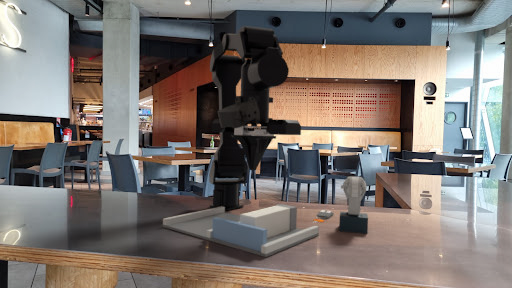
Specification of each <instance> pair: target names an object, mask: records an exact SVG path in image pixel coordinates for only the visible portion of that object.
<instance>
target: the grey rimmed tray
mask: <svg viewBox="0 0 512 288" xmlns="http://www.w3.org/2000/svg"><path fill="white" fill-rule="evenodd" d="M162 228H165V229H169V230H172V231H175V232H179V233H182V234H186V235H189V236H193V237H196V238H199V239H203V240H206V241H210V242H213V243H217V244H219V245H224V246H227V247H230V248H233V249H237V250H240V251H244V252H247V253H250V254H254V255H256V256H257V255H258V256H261V257H264V258H268V257H270V256H272V255H275V254H277V253H280V252H282V251H285V250H287V249H290V248H291V247H294V246H297V245H299V244H302V243H304V242H306V241H309V240H311V239H313V238H315V237H318V236H320V235H319V234H320V226H318V225H313V226H310V227H307V228H305V229H303V228H298V227H296V229H294V230H291V231H290V230H289V231H286V232H283V233H281V234H278V235H275V236H272V237H269V238H267V229H264V228H260V227H256V226H251V225H247V224H243V223H240V214H234V213H231V212H230V213H229V212H227V211H226V210H225V207H222V206H221V207H217V208H213V207H211V208H208V209H202V210H198V211H193V212H189V213H183V214H179V215H174V216H169V217H164V218H163V219H162ZM308 239H309V240H308Z"/></svg>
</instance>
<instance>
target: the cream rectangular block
mask: <svg viewBox="0 0 512 288" xmlns="http://www.w3.org/2000/svg"><path fill="white" fill-rule="evenodd" d="M297 209H298V207H297V206H293V205H288V204H283V203H277V204H275V205H274V206H269V207H266V208H265V207H264V208H261V209H256V210H253V211H248V212H245V213H240V214H239V215H240V223H243V224H247V225H251V226H256V227H260V228H264V229H267V238H269V237H272V236H275V235H278V234H281V233H283V232H286V231H289V230H290V231H291V230H294V229H296V228H297V221H298V220H297V216H298V215H297V214H298V213H297V212H298V211H297Z"/></svg>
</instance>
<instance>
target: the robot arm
mask: <svg viewBox="0 0 512 288" xmlns="http://www.w3.org/2000/svg"><path fill="white" fill-rule="evenodd" d="M226 51H231V52H236V53H237V54H238V55H229V54H226ZM283 54H284V52H283V49H282V48H281V46H280V43H279V40H278V37H277V34H276V35H275V31H274V29H272V28H265V27H258V26H257V27H255V26H249V25H248V26H247V25H243V26H241V27H240V28H239V29H238V30H237V33H231V32H230V33H228V32H227V33H225V34H223V37H222V41H221V42H219V43H218V45H217V46H215V47H214V48H213V50H212V53H211V57H210V61H209V72H211V78H212V79H211V80H212V82H213V83H214V85H215V87H216V88H217V90H218V111H217V115H218V118H215V119H214V120H213V121H212V122H211V133H219V145H218V147H217V149H216V151H215V153H214V154H213V159H212V161H211V164H210V169H209V174H208V181H209V182H208V183H210V185H212V186H213V190H212V203H211V204H209V205H208V207H210V208H217V207H221V206H222V207H225V211H231V210H235V209H239V208H244V206H245V205H244V204H240V188H241V187H240V185H245V184H246V182H247V175H248V169H249V171H257V168H258V166H259V164H260V163H261V161H262V158H263V156H264V155H265V152H266V150H267V149H268V147H269V146H270V144H271V142H272V141H273V140H274V139H277V136H278V135H279V136H292V135H293V136H301V135H302V125H301V123H300V121H299V120H298V119H295V120H294V119H273V118H272V117H269V116H270V115H269V114H270V104H272V103H274V97H272V96H270V90H271V88H275V87H276V88H277V87H279V86H281V85H282V84H284V83H285V81H286V80H287V79H288V76H289V72H290V71H289V70H290V69H289V67H288V63H287V61H286V60H285V58H283ZM239 82H240V95H237V86H238V85H239ZM276 135H277V136H276ZM239 143H240V144H239Z"/></svg>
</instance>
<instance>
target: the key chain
mask: <svg viewBox="0 0 512 288" xmlns="http://www.w3.org/2000/svg"><path fill="white" fill-rule="evenodd" d="M333 216H334V212H333V211H331V210H325V209H321V210H319V211H318V212H317V214H316V216H315V219H313V223H314V222H315V223H324V222H325V220H329V219H330V218H332V217H333Z"/></svg>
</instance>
